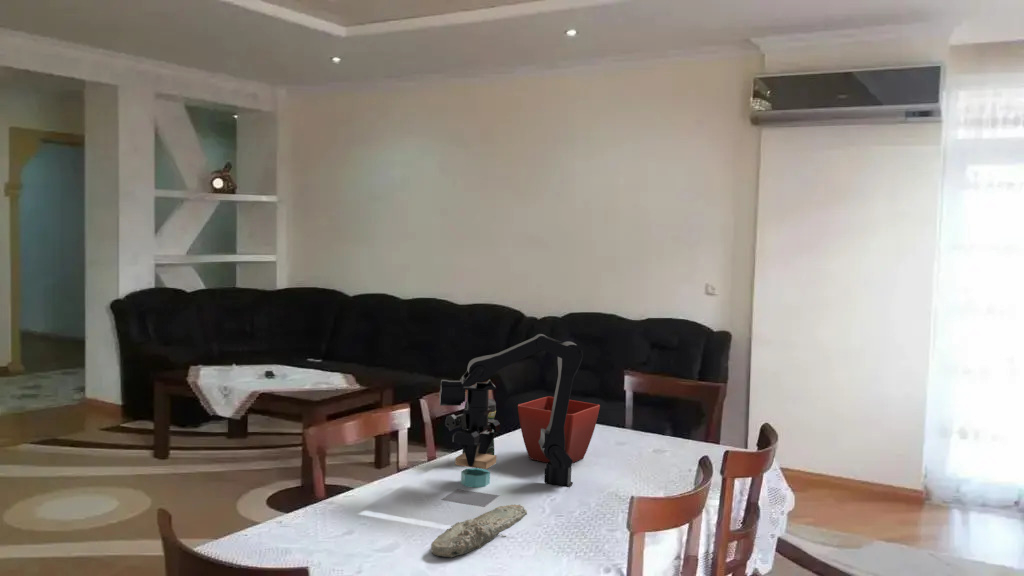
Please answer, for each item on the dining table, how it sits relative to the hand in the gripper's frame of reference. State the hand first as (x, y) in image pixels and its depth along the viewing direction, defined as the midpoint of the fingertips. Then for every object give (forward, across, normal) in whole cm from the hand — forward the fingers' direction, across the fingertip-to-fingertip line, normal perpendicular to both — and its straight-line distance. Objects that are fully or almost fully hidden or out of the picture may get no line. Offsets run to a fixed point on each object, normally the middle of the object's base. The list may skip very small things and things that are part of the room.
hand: (476, 462), depth 230 cm
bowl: (+7, 0, 0) cm, 7 cm away
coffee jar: (+7, -25, -10) cm, 28 cm away
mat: (+7, +12, +4) cm, 14 cm away
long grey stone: (+7, +32, +16) cm, 37 cm away
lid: (0, 0, 0) cm, 0 cm away
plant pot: (+7, -37, +11) cm, 39 cm away
